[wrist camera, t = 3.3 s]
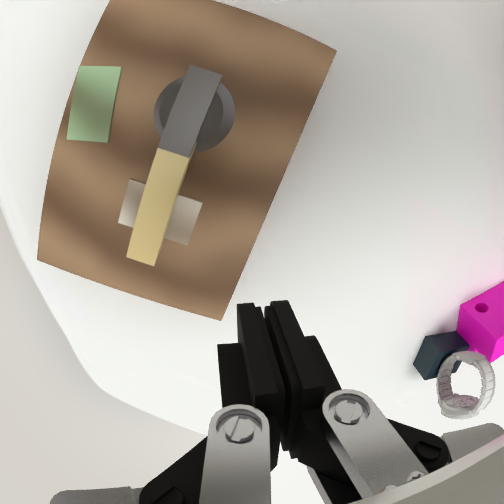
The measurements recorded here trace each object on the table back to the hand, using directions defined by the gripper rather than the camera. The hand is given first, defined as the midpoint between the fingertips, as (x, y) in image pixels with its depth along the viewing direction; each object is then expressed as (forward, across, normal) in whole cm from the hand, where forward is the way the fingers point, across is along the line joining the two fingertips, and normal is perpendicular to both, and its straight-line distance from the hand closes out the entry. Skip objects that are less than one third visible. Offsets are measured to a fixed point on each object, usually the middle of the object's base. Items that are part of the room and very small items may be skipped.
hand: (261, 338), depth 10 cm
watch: (+14, -24, +17) cm, 33 cm away
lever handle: (+12, +2, -8) cm, 15 cm away
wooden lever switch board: (+14, +4, -5) cm, 16 cm away
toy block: (+14, -34, +12) cm, 39 cm away
